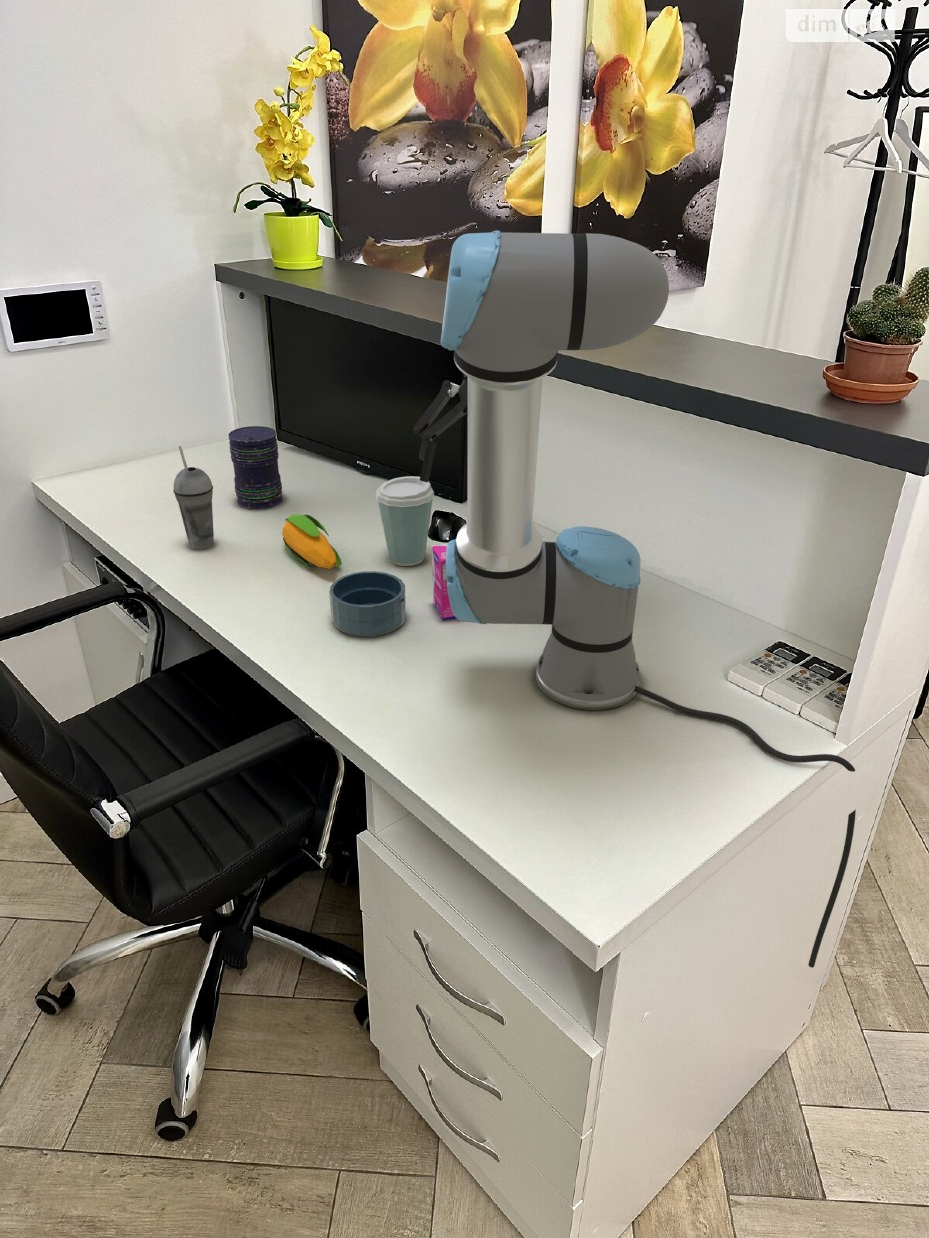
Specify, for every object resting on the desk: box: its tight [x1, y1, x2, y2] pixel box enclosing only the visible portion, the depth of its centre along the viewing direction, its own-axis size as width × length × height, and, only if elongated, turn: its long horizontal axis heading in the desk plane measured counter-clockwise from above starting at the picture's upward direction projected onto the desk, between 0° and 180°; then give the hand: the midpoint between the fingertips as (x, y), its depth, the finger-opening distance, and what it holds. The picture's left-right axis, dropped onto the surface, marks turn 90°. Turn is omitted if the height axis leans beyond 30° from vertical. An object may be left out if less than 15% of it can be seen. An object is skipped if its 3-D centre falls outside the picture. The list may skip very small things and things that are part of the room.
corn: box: [281, 513, 343, 570], centre depth 165 cm, size 7×8×20 cm
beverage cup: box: [172, 445, 215, 551], centre depth 167 cm, size 7×7×20 cm
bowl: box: [328, 570, 407, 637], centre depth 146 cm, size 12×12×6 cm
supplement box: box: [431, 543, 457, 621], centre depth 148 cm, size 6×6×12 cm
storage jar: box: [228, 425, 284, 511], centre depth 188 cm, size 10×10×15 cm
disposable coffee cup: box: [375, 475, 435, 567], centre depth 164 cm, size 11×11×15 cm
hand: (463, 490), depth 144 cm, fingers open, 13 cm apart
